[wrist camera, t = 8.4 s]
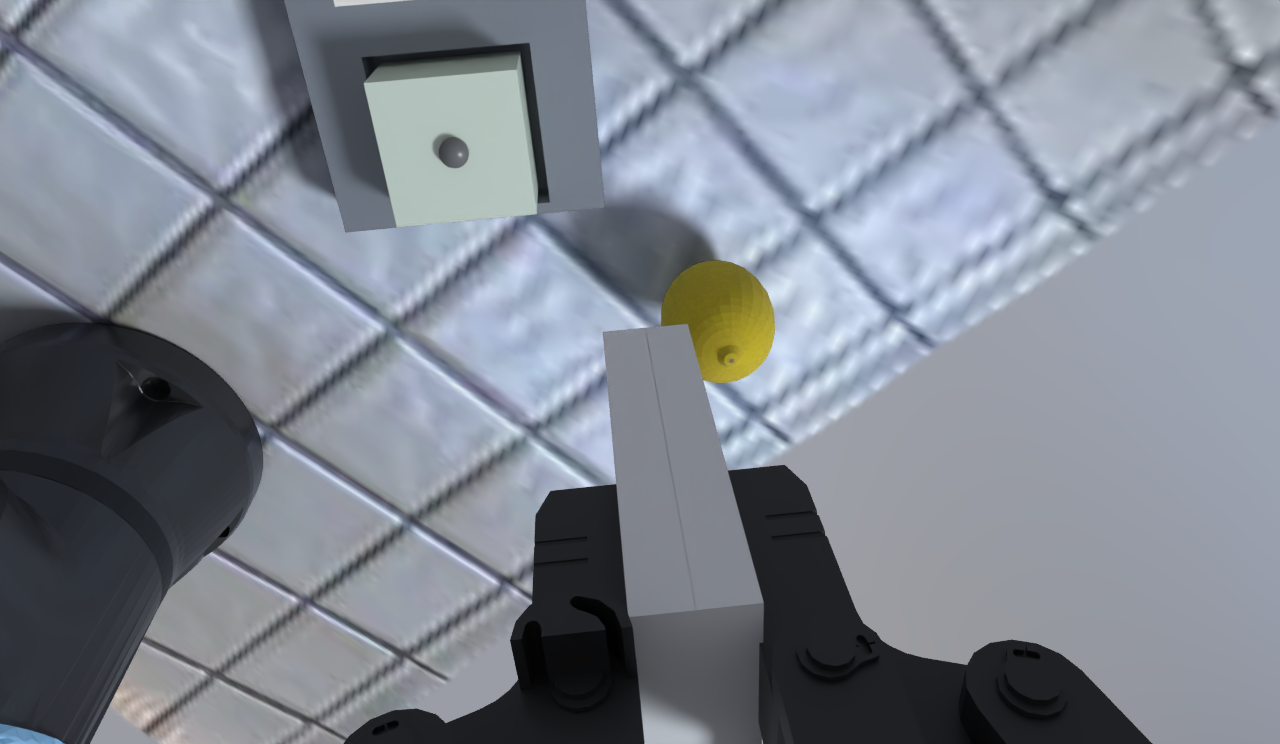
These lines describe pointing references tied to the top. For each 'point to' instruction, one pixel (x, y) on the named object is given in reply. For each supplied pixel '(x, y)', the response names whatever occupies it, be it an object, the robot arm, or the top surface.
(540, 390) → the top surface
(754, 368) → the lemon
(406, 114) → the tile one
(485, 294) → the top surface
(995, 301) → the top surface
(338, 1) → the tile two
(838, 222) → the top surface
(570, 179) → the console
